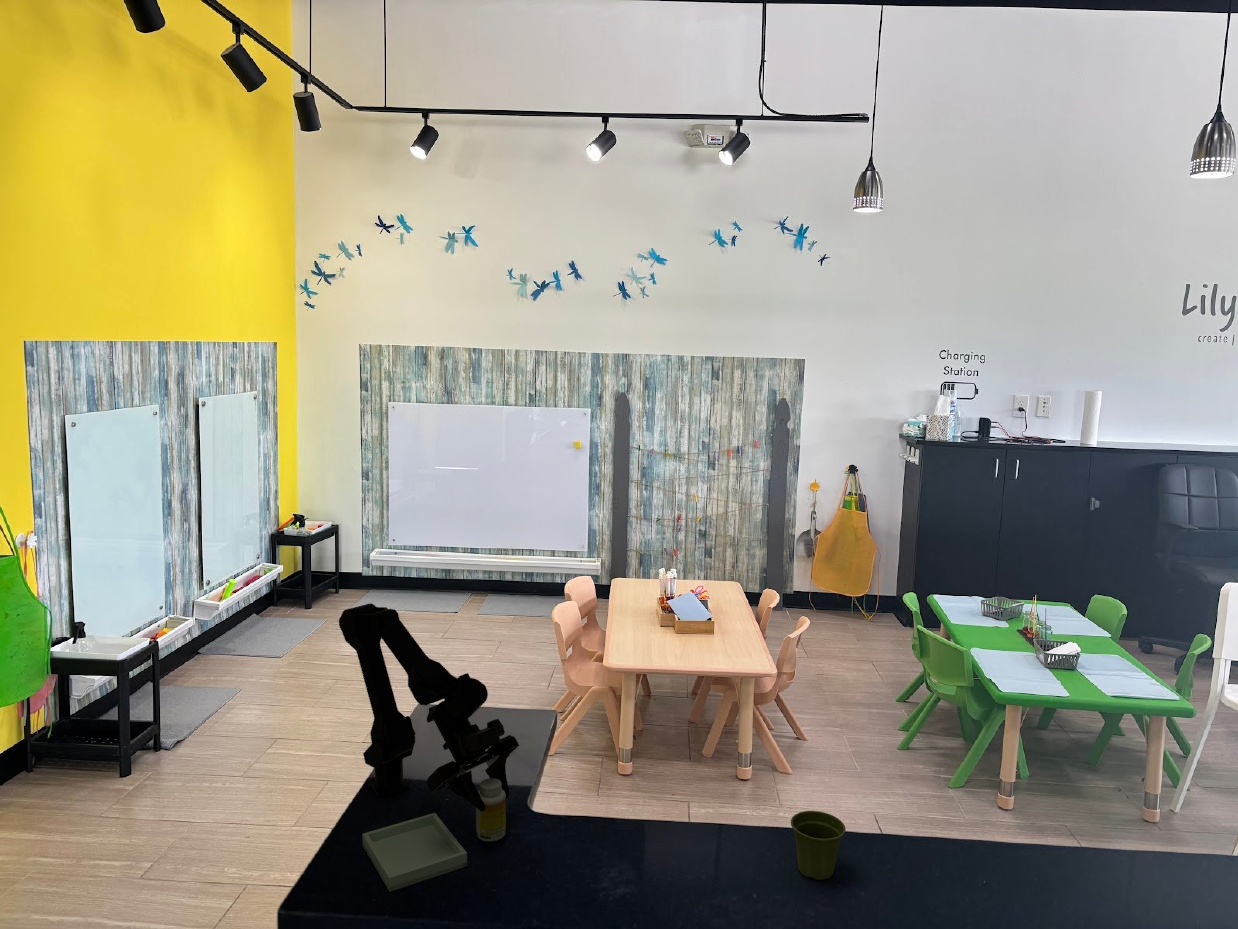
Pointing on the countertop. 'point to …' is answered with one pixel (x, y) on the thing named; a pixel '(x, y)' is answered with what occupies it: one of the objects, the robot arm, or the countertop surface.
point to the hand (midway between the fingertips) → (495, 804)
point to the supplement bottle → (491, 811)
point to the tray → (413, 851)
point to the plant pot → (817, 842)
